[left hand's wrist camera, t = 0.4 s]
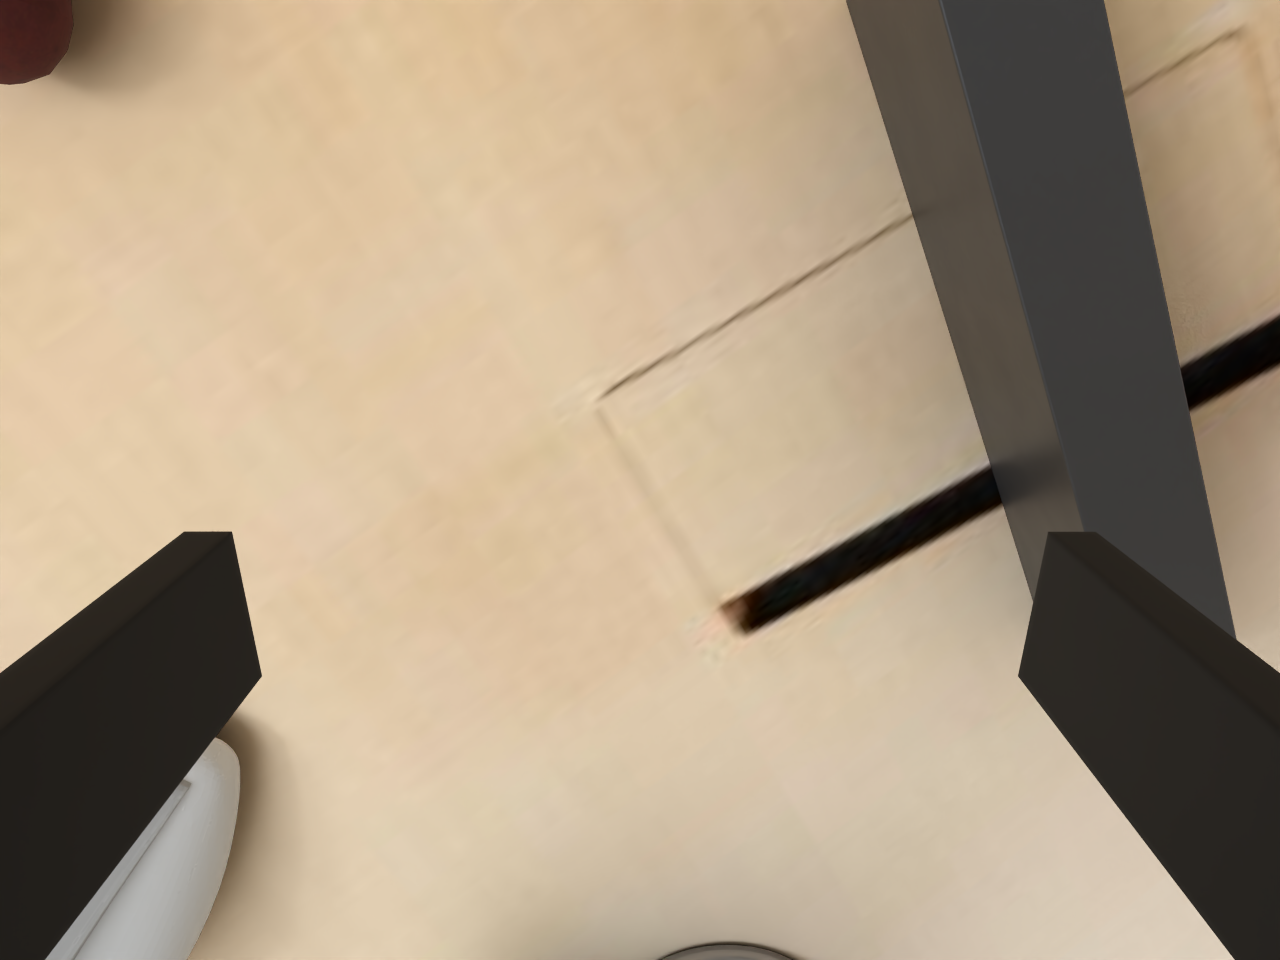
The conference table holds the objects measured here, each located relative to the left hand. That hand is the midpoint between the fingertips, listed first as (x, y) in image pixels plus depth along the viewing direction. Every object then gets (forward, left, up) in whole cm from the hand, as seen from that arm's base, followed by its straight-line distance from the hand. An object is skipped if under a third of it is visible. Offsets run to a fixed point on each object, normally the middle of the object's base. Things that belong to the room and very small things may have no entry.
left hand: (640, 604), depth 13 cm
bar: (+1, -18, -26) cm, 31 cm away
